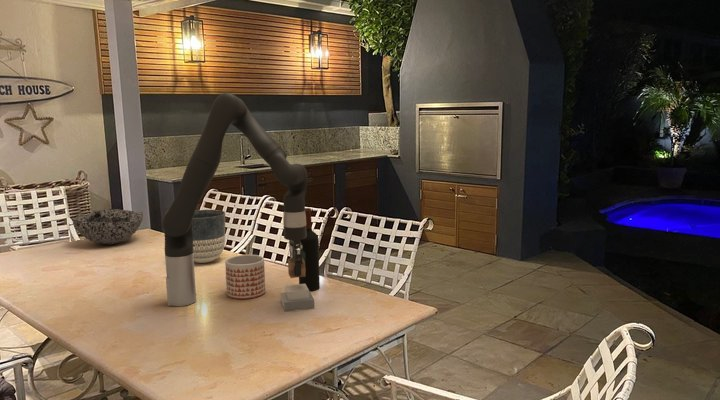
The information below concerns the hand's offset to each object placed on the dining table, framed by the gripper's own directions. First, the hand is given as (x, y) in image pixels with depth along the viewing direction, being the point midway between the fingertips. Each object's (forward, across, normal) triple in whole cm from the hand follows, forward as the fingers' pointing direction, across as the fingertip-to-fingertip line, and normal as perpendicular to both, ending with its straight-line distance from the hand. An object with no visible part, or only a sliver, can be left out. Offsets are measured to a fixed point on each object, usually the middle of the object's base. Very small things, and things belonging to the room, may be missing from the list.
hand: (296, 273), depth 184 cm
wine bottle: (+11, +16, -7) cm, 21 cm away
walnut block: (+1, 0, 0) cm, 1 cm away
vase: (+11, +17, +16) cm, 26 cm away
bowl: (+11, +114, +77) cm, 138 cm away
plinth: (+11, 0, 0) cm, 11 cm away
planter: (+11, +65, +31) cm, 73 cm away
